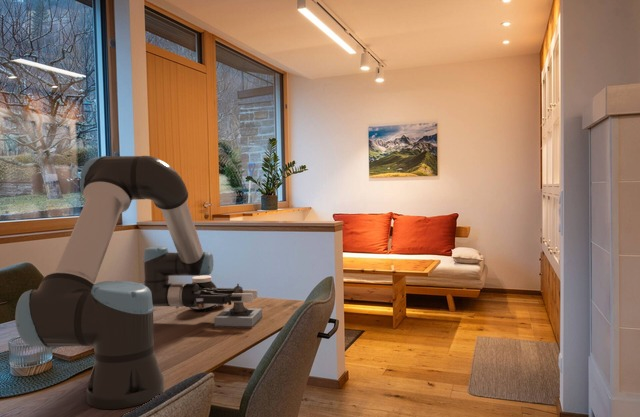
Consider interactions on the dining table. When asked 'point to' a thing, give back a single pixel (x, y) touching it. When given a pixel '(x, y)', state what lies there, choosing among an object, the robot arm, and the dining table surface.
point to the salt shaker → (238, 304)
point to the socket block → (238, 318)
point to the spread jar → (203, 283)
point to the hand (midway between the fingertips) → (254, 296)
